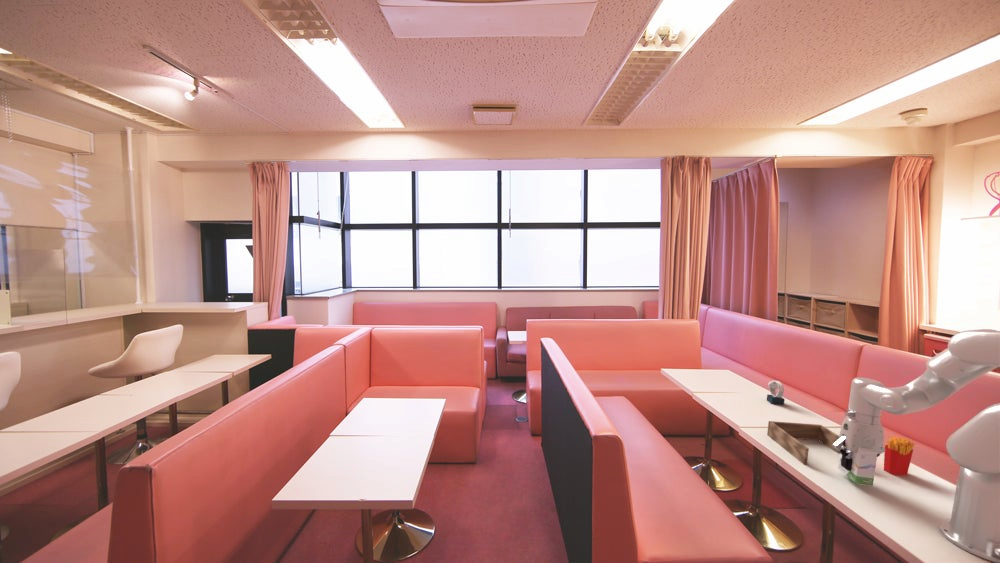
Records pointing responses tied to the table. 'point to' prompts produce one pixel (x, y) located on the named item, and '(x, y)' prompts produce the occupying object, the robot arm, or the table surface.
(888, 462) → the french fries
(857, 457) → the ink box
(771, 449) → the table surface
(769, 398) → the watch
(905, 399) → the robot arm
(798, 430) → the brown wooden angled piece
